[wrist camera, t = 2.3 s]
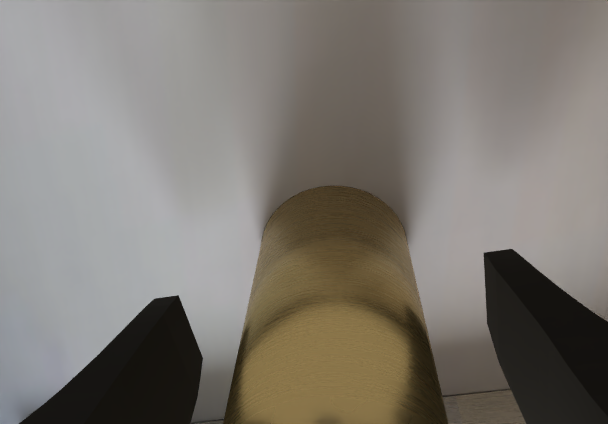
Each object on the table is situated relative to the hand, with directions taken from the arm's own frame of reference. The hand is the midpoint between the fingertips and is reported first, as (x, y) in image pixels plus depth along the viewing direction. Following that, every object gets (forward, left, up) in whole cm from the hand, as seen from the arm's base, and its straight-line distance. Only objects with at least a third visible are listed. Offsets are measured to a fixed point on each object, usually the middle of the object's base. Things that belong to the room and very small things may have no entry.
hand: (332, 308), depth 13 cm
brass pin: (0, 0, -3) cm, 3 cm away
